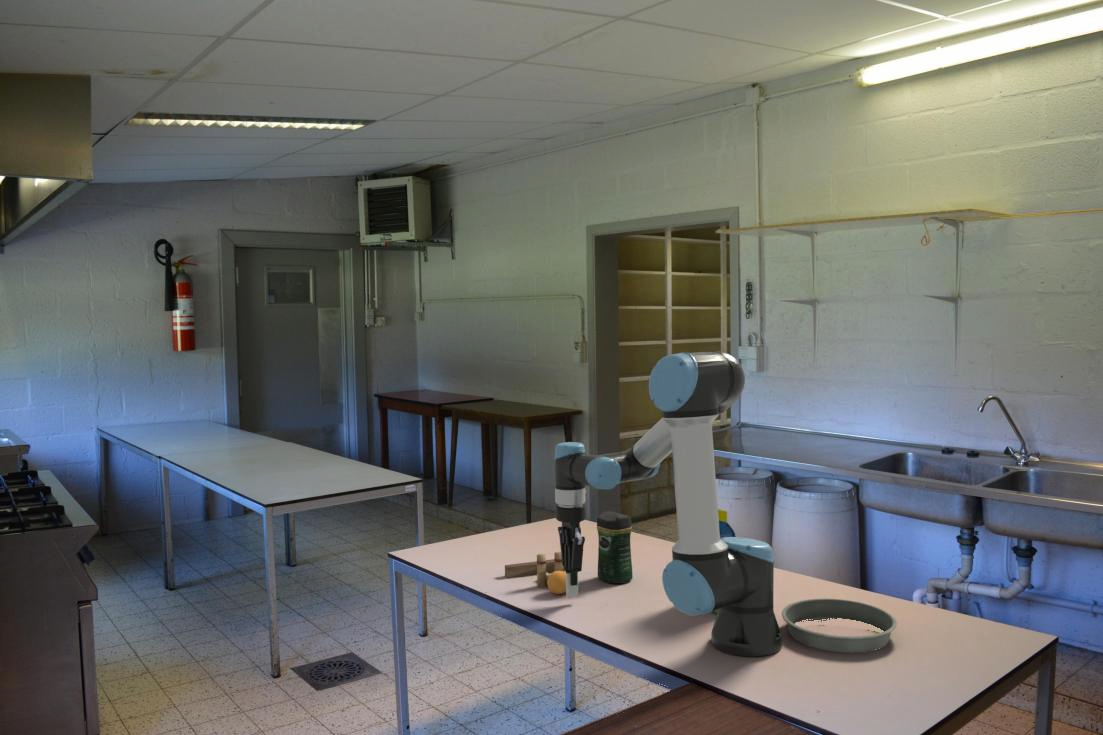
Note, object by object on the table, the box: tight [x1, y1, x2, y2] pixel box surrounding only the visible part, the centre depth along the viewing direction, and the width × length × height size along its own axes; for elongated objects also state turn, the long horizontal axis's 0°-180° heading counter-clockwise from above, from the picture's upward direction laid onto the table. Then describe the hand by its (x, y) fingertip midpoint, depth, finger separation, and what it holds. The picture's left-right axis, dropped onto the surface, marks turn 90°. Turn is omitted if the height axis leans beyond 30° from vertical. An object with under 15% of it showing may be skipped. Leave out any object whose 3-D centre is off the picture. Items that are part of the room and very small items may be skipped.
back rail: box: [504, 559, 566, 579], centre depth 244 cm, size 2×18×3 cm, turn 110°
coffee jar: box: [596, 510, 633, 584], centre depth 236 cm, size 10×8×19 cm
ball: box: [546, 571, 566, 595], centre depth 225 cm, size 6×6×6 cm
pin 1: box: [536, 553, 547, 589], centre depth 232 cm, size 2×2×8 cm
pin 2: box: [553, 551, 565, 572], centre depth 233 cm, size 2×2×8 cm
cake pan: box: [781, 597, 898, 653], centre depth 194 cm, size 25×25×4 cm
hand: (572, 596), depth 217 cm, fingers closed
